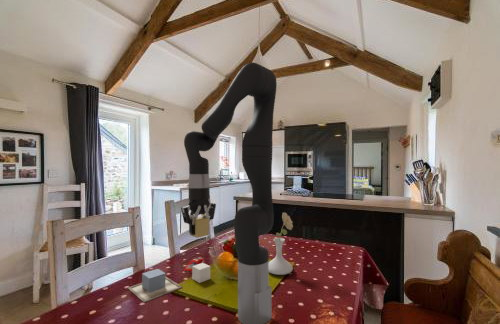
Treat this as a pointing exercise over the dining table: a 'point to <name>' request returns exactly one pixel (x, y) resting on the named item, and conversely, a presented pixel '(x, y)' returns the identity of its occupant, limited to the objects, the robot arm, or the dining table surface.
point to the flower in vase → (279, 263)
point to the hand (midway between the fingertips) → (199, 233)
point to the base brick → (153, 280)
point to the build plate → (147, 296)
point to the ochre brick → (201, 227)
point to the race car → (193, 264)
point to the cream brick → (201, 272)
